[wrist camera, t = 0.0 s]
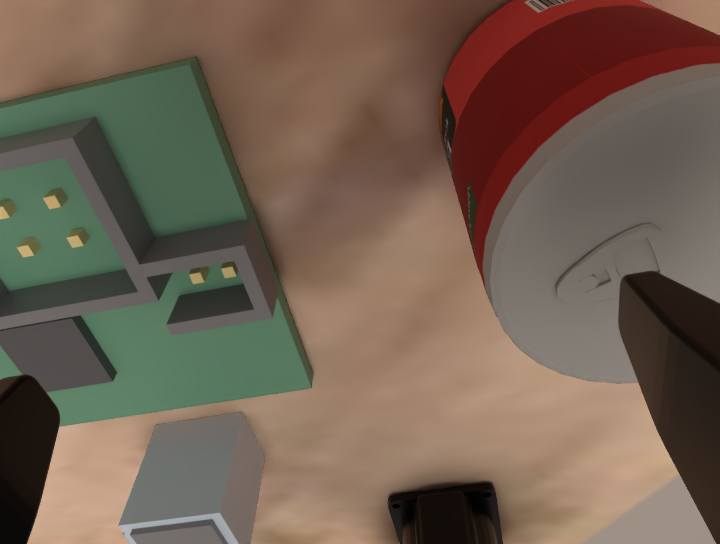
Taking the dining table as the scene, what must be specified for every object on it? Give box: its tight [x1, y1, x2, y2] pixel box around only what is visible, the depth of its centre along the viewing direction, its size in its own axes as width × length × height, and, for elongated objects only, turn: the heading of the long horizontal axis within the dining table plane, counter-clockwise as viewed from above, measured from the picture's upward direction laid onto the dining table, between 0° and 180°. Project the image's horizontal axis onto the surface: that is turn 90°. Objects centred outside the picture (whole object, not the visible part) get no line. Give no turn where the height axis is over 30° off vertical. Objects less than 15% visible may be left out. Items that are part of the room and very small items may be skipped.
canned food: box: [439, 0, 720, 384], centre depth 17 cm, size 8×8×11 cm
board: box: [0, 57, 313, 427], centre depth 25 cm, size 16×15×3 cm
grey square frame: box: [0, 117, 172, 330], centre depth 22 cm, size 7×8×2 cm
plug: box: [118, 412, 265, 544], centre depth 30 cm, size 4×6×6 cm
